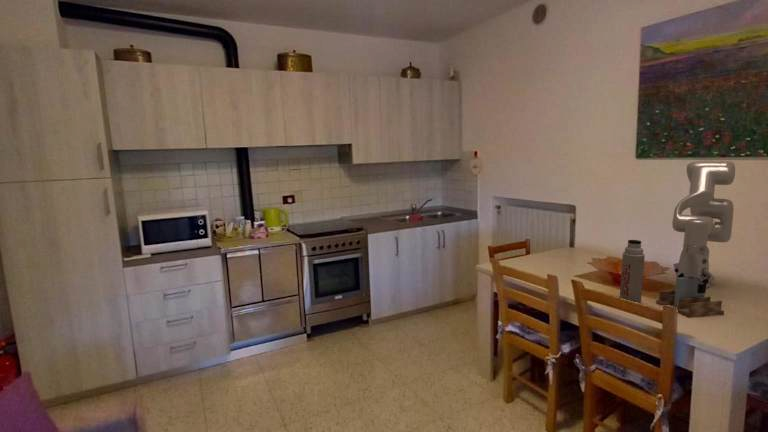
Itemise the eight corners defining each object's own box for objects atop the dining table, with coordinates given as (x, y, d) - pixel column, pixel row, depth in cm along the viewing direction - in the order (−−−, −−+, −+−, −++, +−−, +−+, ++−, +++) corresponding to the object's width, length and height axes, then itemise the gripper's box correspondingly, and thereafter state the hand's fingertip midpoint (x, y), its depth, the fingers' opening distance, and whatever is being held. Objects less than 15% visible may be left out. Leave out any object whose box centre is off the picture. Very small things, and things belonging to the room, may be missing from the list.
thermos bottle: (627, 307, 172) (632, 243, 168) (615, 300, 180) (619, 239, 176) (645, 306, 173) (650, 242, 169) (632, 299, 181) (636, 238, 177)
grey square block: (698, 302, 172) (701, 275, 170) (703, 305, 169) (706, 277, 168) (673, 305, 170) (676, 277, 168) (678, 307, 167) (681, 279, 166)
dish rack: (688, 300, 179) (689, 288, 178) (723, 314, 163) (725, 301, 162) (656, 303, 176) (657, 291, 175) (688, 317, 161) (690, 304, 160)
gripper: (722, 253, 158) (718, 295, 161) (684, 243, 175) (680, 281, 178) (706, 254, 157) (701, 297, 160) (668, 244, 174) (665, 283, 177)
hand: (690, 289), depth 169 cm, fingers open, 9 cm apart
